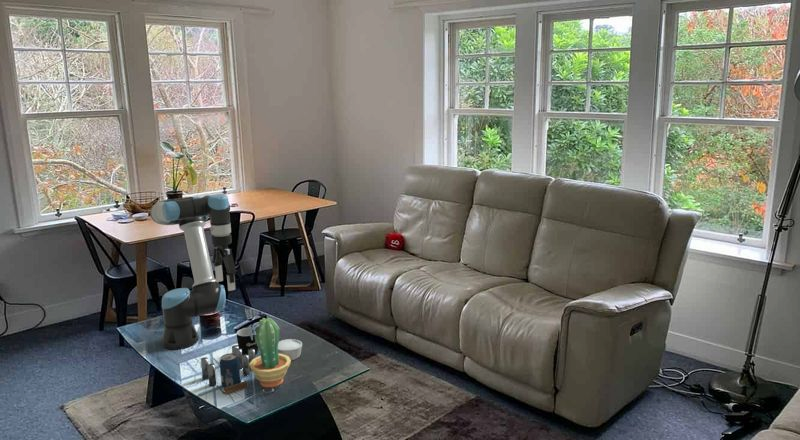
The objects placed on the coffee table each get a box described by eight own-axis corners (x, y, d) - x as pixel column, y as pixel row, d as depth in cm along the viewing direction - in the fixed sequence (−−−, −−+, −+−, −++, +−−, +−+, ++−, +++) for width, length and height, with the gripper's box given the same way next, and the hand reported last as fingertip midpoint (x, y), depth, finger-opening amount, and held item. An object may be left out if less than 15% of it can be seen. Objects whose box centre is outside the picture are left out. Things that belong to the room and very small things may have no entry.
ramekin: (308, 354, 255) (307, 342, 253) (289, 364, 246) (288, 352, 244) (289, 348, 261) (288, 336, 260) (269, 357, 252) (268, 346, 251)
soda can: (236, 380, 233) (233, 350, 231) (244, 386, 228) (241, 357, 225) (218, 385, 229) (216, 356, 227) (226, 392, 224) (223, 362, 221)
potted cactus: (265, 369, 242) (261, 309, 236) (299, 375, 236) (296, 314, 231) (242, 387, 228) (237, 324, 222) (277, 394, 222) (273, 330, 217)
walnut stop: (224, 393, 223) (223, 387, 223) (246, 386, 228) (245, 381, 227) (225, 395, 222) (225, 389, 222) (247, 388, 227) (247, 382, 226)
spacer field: (198, 374, 239) (196, 355, 237) (247, 360, 250) (246, 342, 248) (210, 387, 228) (208, 367, 226) (260, 372, 240) (259, 353, 238)
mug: (245, 361, 249) (243, 337, 247) (234, 354, 256) (232, 331, 253) (270, 352, 257) (269, 329, 255) (259, 345, 264) (258, 323, 261)
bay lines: (216, 386, 229) (216, 385, 229) (239, 379, 234) (239, 378, 234) (223, 394, 223) (223, 393, 223) (247, 386, 228) (247, 386, 228)
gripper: (201, 229, 247) (205, 279, 252) (223, 242, 227) (227, 296, 232) (219, 226, 251) (223, 276, 256) (242, 238, 232) (246, 292, 236)
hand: (225, 285), depth 244 cm, fingers open, 13 cm apart
